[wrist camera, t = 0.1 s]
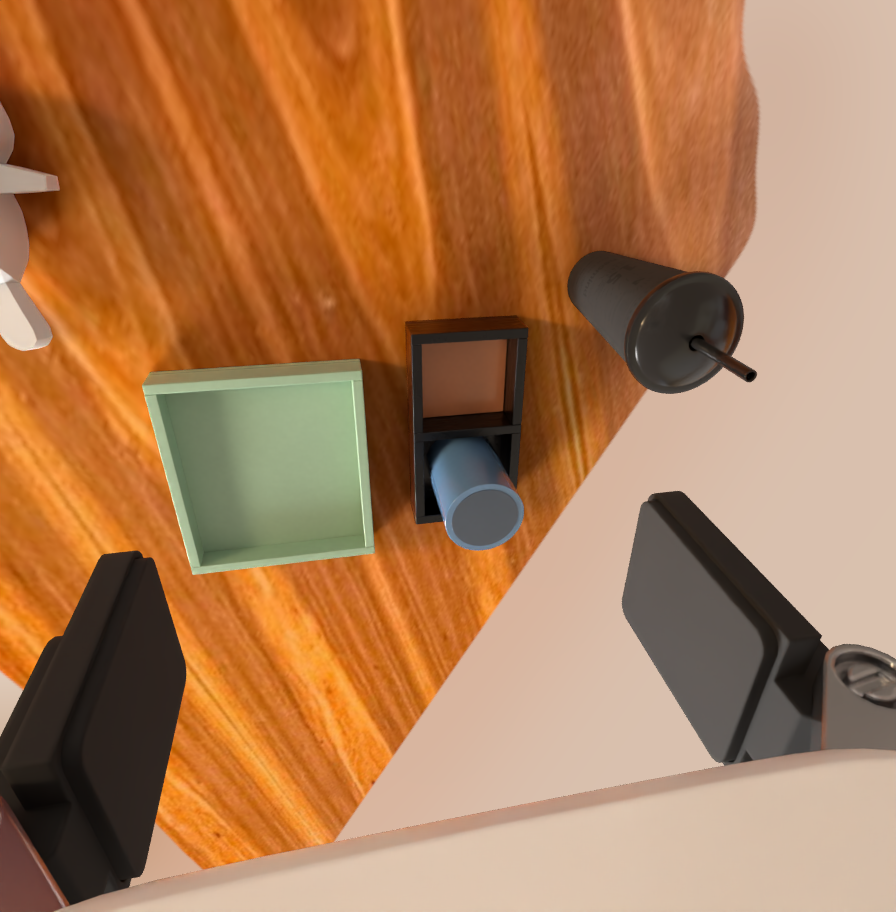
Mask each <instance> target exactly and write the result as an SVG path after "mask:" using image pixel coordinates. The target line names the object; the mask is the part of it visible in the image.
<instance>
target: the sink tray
mask: <svg viewBox="0 0 896 912" xmlns="http://www.w3.org/2000/svg"><path fill="white" fill-rule="evenodd" d="M362 379H363V377H362V368H361V363H360V359H347V360H331V361H315V362H300V363H284V364H268V365H253V366H237V367H221V368H206V369H190V370H174V371H159V372H150V373H149V375H148V377H147V378H146V380H145V382H144V383H143V385H142V387H143V391H144V394H145V399H146V403H147V407H148V410H149V414H150V418H151V421H152V425H153V429H154V432H155V436H156V440H157V444H158V447H159V451H160V455H161V458H162V462H163V466H164V470H165V473H166V477H167V481H168V484H169V488H170V492H171V496H172V499H173V503H174V507H175V510H176V514H177V518H178V522H179V525H180V529H181V533H182V536H183V540H184V544H185V547H186V551H187V555H188V559H189V562H190V566H191V570H192V573H193V575H195V574H204V573H212V572H221V571H229V570H237V569H246V568H254V567H263V566H271V565H279V564H288V563H296V562H305V561H313V560H322V559H330V558H338V557H347V556H355V555H364V554H372V553H375V547H374V533H373V519H372V505H371V491H370V477H369V462H368V448H367V434H366V420H365V406H364V391H363V380H362Z"/></svg>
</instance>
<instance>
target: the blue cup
mask: <svg viewBox="0 0 896 912" xmlns="http://www.w3.org/2000/svg"><path fill="white" fill-rule="evenodd" d="M426 468H427V471H428V475H429V478H430V481H431V484H432V487H433V490H434V493H435V497H436V500H437V503H438V506H439V509H440V512H441V515H442V519H443V522H444V525H445V528H446V531H447V533H448V535H449V537H450V538H451V539H452V541H453V542H455V543H456V544H457V545H459V546H461V547H463V548H466V549H469V550H487V549H491V548H494V547H497V546H499V545H501V544H503V543H505V542H506V541H508V540H509V539H510V538H511V537H512V536H513V535H514V534H515V533H516V532H517V530H518V529H519V527H520V525H521V523H522V520H523V516H524V507H523V503H522V500H521V498H520V496H519V495H518V493H517V491H516V489H515V487H514V485H513V483H512V481H511V480H510V478H509V476H508V474H507V472H506V470H505V468H504V467H503V465H502V463H501V461H500V459H499V457H498V455H497V453H496V452H495V450H494V448H493V446H492V444H491V442H490V441H489V439H488V438H487V437H486V436H478V437H467V438H456V439H444V440H436V441H435V442H434V443H433V445H432V446H431V448H430V450H429V452H428V454H427V458H426Z"/></svg>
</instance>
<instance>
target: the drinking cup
mask: <svg viewBox="0 0 896 912" xmlns="http://www.w3.org/2000/svg"><path fill="white" fill-rule="evenodd" d="M568 294H569V297H570V300H571V301H572V303H573V304H574V305H575V306H576V307H577V309H578V310H579V311H580V312H581V313H582V314H583V315H584V316H585V317H586V319H587V320H588V321H589V322H590V323H591V324H592V325H593V326H594V327H595V329H596V330H597V331H598V332H599V333H600V334H601V335H602V336H603V337H604V339H605V340H606V341H607V342H608V343H609V344H610V345H611V346H612V347H613V349H614V350H615V351H616V352H617V353H618V354H619V355H620V356H621V357H622V359H623V360H624V361H625V362H626V363H627V366H628V369H629V371H630V372H631V374H632V375H633V377H634V378H635V379H636V380H637V381H638V382H639V383H640V384H642V385H643V386H644V387H646V388H648V389H650V390H652V391H655V392H659V393H666V394H674V393H681V392H685V391H688V390H691V389H693V388H696V387H698V386H700V385H701V384H703V383H705V382H707V381H708V380H709V379H711V378H712V377H713V376H714V375H716V374H717V373H718V372H719V371H720V370H721V369H722V367H724V368H726V369H727V370H729V371H730V372H732V373H734V374H735V375H737V376H738V377H740V378H741V379H743V380H745V381H746V382H752V381H753V380H754V379H755V378H756V376H757V372H756V371H755V370H753V369H751V368H750V367H748V366H746V365H745V364H743V363H741V362H740V361H738V360H736V359H734V358H733V357H731V356H732V354H733V353H734V351H735V349H736V347H737V345H738V342H739V340H740V337H741V334H742V329H743V321H744V313H743V306H742V302H741V299H740V297H739V295H738V293H737V291H736V290H735V288H734V287H733V286H732V285H731V284H730V283H729V282H728V281H727V280H725V279H724V278H722V277H720V276H718V275H715V274H712V273H709V272H702V271H694V272H686V271H682V270H678V269H674V268H670V267H666V266H662V265H658V264H654V263H650V262H646V261H642V260H638V259H634V258H630V257H626V256H622V255H618V254H614V253H610V252H605V251H597V252H592V253H590V254H588V255H586V256H584V257H583V258H581V259H580V260H579V261H578V262H577V263H576V265H575V266H574V267H573V269H572V271H571V273H570V276H569V279H568Z"/></svg>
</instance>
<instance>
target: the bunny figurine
mask: <svg viewBox="0 0 896 912" xmlns="http://www.w3.org/2000/svg"><path fill="white" fill-rule="evenodd" d="M14 138H15V134H14V131H13V128H12V126H11V123H10V120H9V117H8V115H7V114H6V112H5V110H4V108H3V106H2V104H1V102H0V333H1V336H2V338H3V339H4V340H5V341H6V342H7V343H8V344H9V345H10V346H12V347H14V348H16V349H18V350H23V351H26V350H32V349H37V348H41V347H44V346H47V345H48V344H49V343H50V341H51V339H52V333H51V329H50V326H49V325H48V323H47V322H46V320H45V319H44V317H43V316H42V314H41V313H40V312H39V310H38V309H37V307H36V306H35V304H34V303H33V301H32V300H31V298H30V297H29V296H28V294H27V293H26V291H25V290H24V288H23V287H22V285H21V284H20V282H21V279H22V276H23V274H24V271H25V268H26V266H27V263H28V260H29V240H28V233H27V227H26V223H25V220H24V216H23V212H22V210H21V208H20V206H19V204H18V202H17V200H16V198H15V196H14V194H21V193H35V192H47V191H59V190H60V187H59V182H58V177H57V176H54V175H51V174H47V173H43V172H39V171H35V170H31V169H27V168H23V167H19V166H14V165H10V164H6V163H7V161H8V159H9V157H10V155H11V153H12V152H13V148H14Z"/></svg>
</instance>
